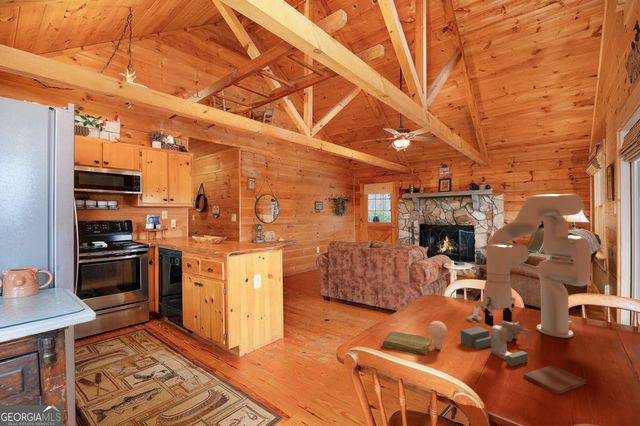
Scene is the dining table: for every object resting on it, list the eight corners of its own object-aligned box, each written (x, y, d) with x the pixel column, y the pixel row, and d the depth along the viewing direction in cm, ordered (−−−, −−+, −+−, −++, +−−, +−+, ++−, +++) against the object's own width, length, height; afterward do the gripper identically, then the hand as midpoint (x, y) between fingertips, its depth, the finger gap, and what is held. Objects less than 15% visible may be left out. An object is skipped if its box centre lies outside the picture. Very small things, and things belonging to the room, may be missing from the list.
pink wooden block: (497, 351, 115) (497, 325, 115) (513, 358, 110) (512, 330, 110) (491, 352, 114) (490, 326, 114) (506, 360, 108) (506, 332, 108)
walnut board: (551, 367, 103) (551, 365, 103) (586, 383, 93) (586, 380, 93) (523, 377, 97) (523, 374, 97) (558, 394, 88) (558, 391, 88)
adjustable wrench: (474, 307, 167) (474, 304, 167) (487, 310, 163) (487, 306, 163) (466, 321, 146) (466, 318, 146) (481, 324, 143) (481, 320, 143)
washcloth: (428, 357, 112) (428, 349, 112) (381, 348, 120) (381, 340, 120) (432, 343, 123) (432, 335, 123) (389, 336, 131) (389, 328, 131)
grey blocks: (478, 338, 127) (478, 326, 127) (529, 361, 107) (529, 347, 107) (460, 342, 123) (460, 330, 123) (510, 366, 104) (510, 352, 104)
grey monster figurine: (498, 333, 132) (496, 316, 132) (531, 339, 125) (529, 320, 125) (494, 341, 124) (493, 323, 125) (530, 347, 117) (528, 327, 117)
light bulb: (437, 354, 113) (437, 325, 113) (425, 347, 119) (424, 319, 119) (451, 351, 116) (450, 322, 115) (437, 344, 122) (437, 317, 121)
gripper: (504, 273, 119) (504, 316, 119) (472, 277, 113) (472, 323, 113) (523, 277, 112) (523, 323, 112) (490, 282, 106) (490, 330, 106)
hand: (498, 323), depth 113 cm, fingers open, 9 cm apart
